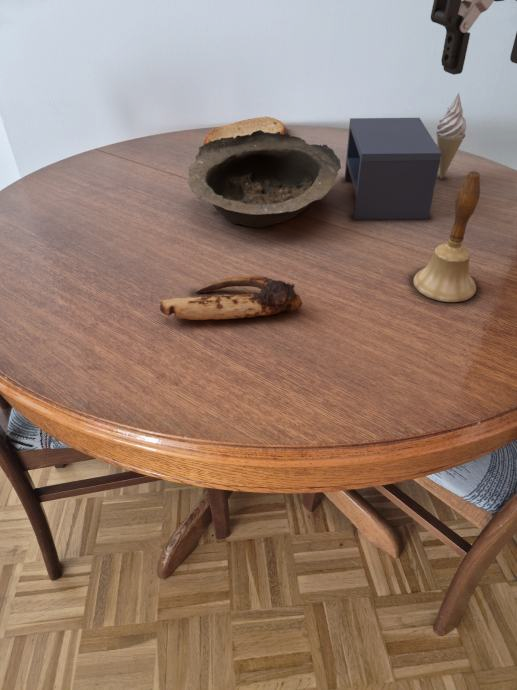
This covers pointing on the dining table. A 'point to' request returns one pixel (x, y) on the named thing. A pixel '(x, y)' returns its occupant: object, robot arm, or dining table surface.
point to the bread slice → (246, 128)
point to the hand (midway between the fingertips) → (486, 67)
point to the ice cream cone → (450, 134)
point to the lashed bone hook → (235, 300)
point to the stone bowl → (262, 176)
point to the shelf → (391, 168)
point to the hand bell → (452, 253)
